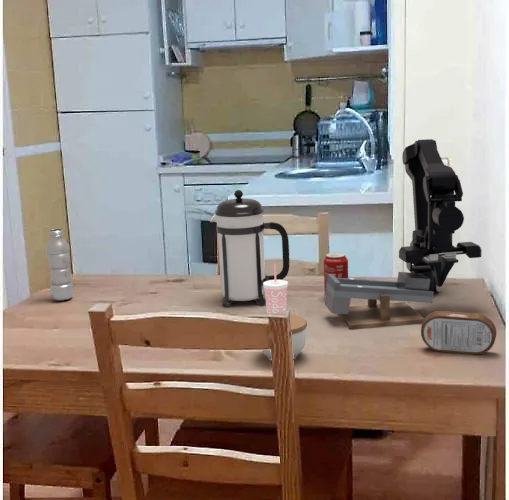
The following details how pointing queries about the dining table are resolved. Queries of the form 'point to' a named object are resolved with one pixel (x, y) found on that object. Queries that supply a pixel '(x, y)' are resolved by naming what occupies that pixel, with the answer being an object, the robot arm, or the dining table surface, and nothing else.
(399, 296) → the beam
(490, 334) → the tin
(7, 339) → the dining table surface
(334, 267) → the beverage can
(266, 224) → the coffee press
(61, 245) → the plastic bottle
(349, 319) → the stand
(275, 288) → the beverage cup
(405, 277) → the block
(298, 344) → the lidded jar
